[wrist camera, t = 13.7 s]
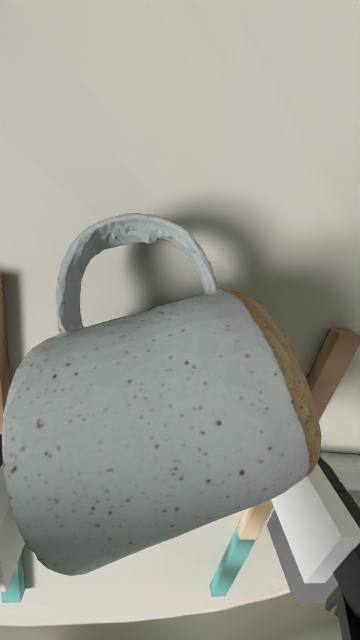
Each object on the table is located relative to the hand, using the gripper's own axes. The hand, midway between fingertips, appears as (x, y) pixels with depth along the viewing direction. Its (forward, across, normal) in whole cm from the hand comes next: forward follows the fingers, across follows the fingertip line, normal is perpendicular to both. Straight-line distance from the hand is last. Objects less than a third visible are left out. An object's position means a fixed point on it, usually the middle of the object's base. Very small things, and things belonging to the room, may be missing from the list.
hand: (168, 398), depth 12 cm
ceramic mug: (+1, -1, +3) cm, 4 cm away
